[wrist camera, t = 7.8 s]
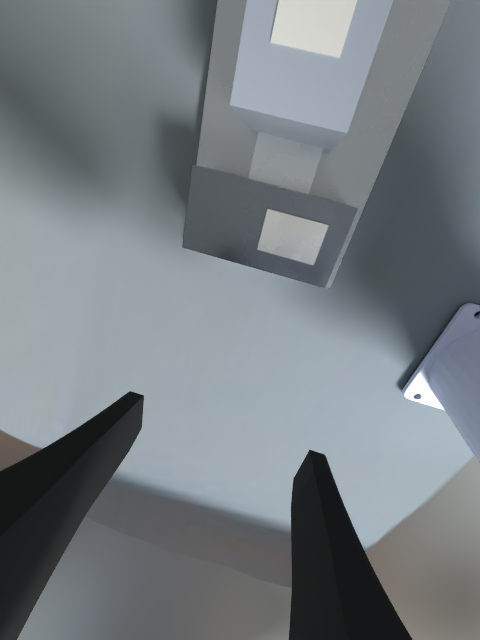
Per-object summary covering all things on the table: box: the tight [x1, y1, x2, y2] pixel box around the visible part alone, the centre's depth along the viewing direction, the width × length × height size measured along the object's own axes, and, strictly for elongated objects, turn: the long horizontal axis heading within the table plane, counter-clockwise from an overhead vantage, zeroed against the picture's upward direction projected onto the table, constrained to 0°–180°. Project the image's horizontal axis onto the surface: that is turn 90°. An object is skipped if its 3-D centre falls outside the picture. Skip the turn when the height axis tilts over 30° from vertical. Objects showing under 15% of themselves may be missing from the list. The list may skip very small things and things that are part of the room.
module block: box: [230, 0, 393, 150], centre depth 10 cm, size 4×7×5 cm, turn 167°
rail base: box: [182, 0, 452, 289], centre depth 11 cm, size 10×21×4 cm, turn 167°
